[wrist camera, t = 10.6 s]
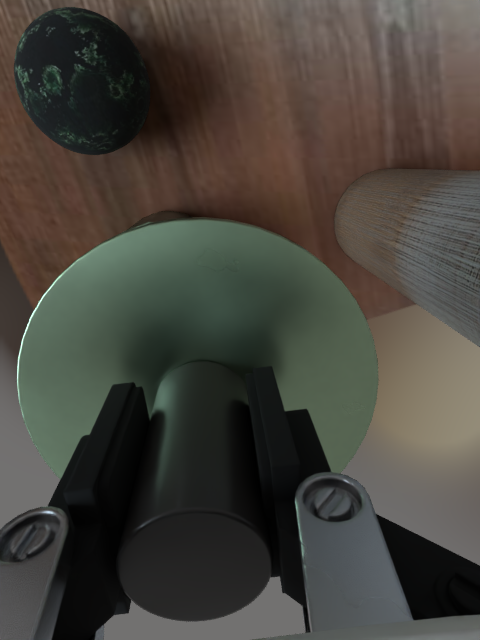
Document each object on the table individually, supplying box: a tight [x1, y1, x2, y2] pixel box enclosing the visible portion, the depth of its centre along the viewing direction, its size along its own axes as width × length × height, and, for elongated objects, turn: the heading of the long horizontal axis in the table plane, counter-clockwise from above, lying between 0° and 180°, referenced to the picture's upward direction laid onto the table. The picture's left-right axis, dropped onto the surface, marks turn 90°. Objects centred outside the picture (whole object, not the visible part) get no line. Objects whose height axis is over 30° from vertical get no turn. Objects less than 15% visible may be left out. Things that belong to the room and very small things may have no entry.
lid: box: [17, 217, 378, 621], centre depth 10 cm, size 11×11×7 cm
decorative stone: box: [14, 7, 150, 155], centre depth 33 cm, size 10×10×10 cm
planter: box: [334, 169, 480, 347], centre depth 30 cm, size 10×10×28 cm
